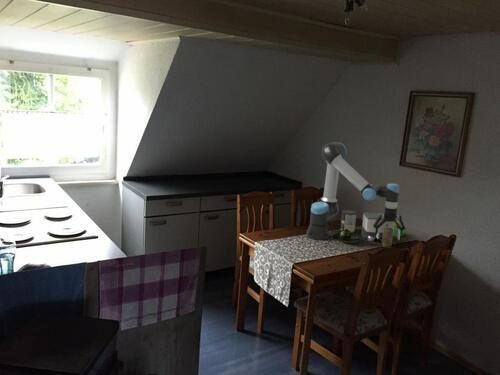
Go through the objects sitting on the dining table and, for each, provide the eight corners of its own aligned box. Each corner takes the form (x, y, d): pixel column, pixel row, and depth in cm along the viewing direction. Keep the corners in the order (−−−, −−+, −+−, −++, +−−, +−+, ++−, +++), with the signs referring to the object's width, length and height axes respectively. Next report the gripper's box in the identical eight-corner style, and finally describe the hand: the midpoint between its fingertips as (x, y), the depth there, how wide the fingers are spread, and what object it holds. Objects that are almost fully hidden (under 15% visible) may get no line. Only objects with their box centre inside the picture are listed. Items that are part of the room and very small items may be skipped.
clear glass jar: (337, 229, 309) (339, 211, 307) (345, 227, 316) (347, 209, 314) (349, 233, 302) (351, 214, 299) (357, 230, 309) (359, 212, 306)
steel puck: (368, 241, 287) (368, 236, 286) (366, 239, 291) (367, 234, 290) (374, 241, 286) (375, 237, 286) (373, 239, 291) (373, 235, 290)
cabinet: (365, 242, 284) (367, 218, 281) (360, 234, 299) (363, 212, 296) (393, 243, 283) (396, 219, 280) (387, 236, 298) (389, 213, 295)
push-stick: (383, 247, 276) (385, 229, 273) (378, 239, 290) (380, 223, 288) (391, 247, 275) (393, 230, 273) (385, 240, 290) (387, 223, 288)
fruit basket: (396, 237, 297) (398, 222, 295) (385, 234, 304) (387, 219, 302) (405, 235, 303) (407, 220, 301) (395, 232, 310) (397, 217, 308)
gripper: (372, 207, 270) (369, 239, 274) (412, 209, 268) (408, 241, 272) (370, 205, 277) (367, 236, 281) (408, 207, 276) (405, 238, 280)
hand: (387, 238), depth 277 cm, fingers open, 13 cm apart
